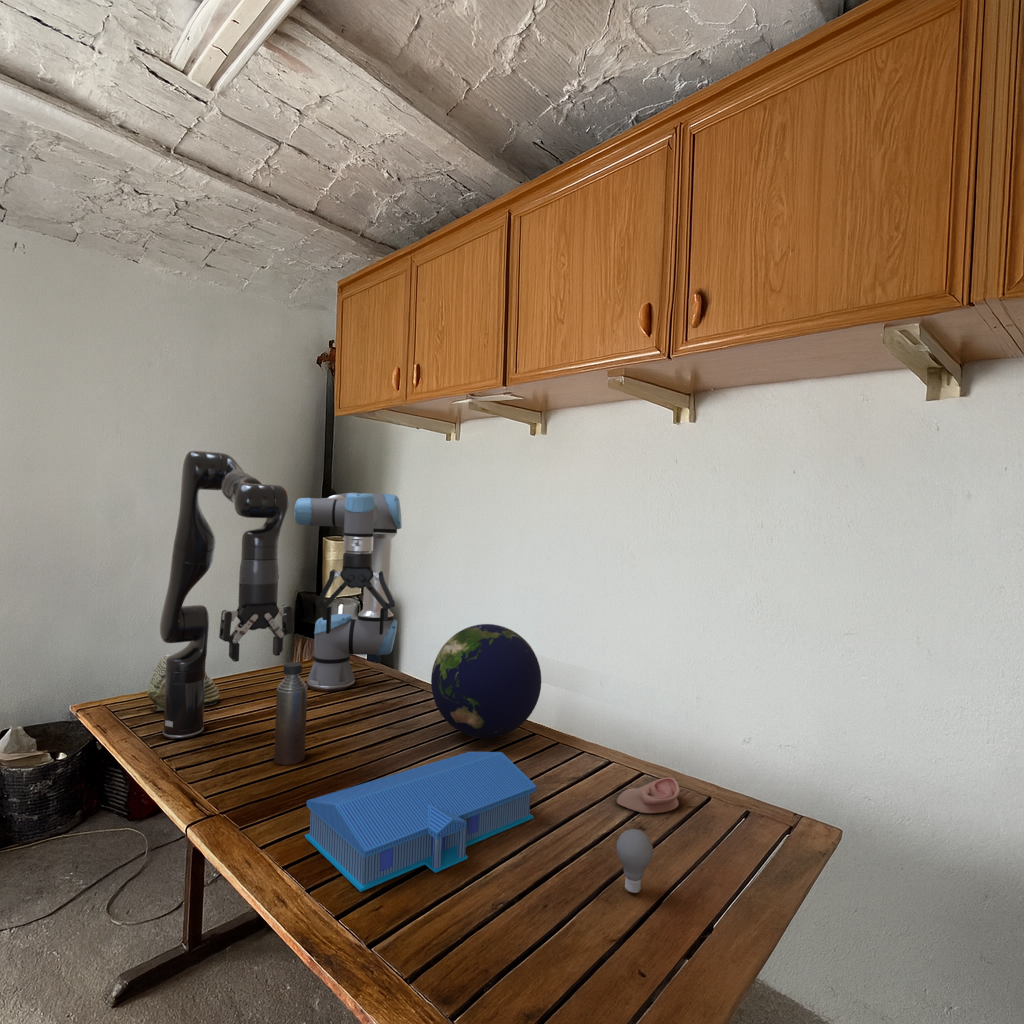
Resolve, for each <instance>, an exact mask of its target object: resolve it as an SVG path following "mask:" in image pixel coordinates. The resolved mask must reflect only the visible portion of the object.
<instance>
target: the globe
mask: <svg viewBox="0 0 1024 1024" xmlns="http://www.w3.org/2000/svg"><path fill="white" fill-rule="evenodd" d="M430 686H431V688H430V689H431V694H432V697H433V701H434V703H435V706H436V709H437V711H439V713H440V715H441V716H442V718H443V719H444V720H445V721H446V723H448V724H449V725H450V726H451V727H453V728H454V729H455V730H456V731H458V732H460V733H462V734H463V735H466V736H470V737H473V738H477V739H493V738H497V737H502V736H505V735H507V734H509V733H512V732H513V731H515V730H517V729H519V727H521V725H523V724H524V723H525V722H526V721H527V720H528V719H529V718H530V716H531V715H532V714H533V712H534V710H535V708H536V706H537V704H538V702H539V698H540V695H541V689H542V671H541V666H540V663H539V660H538V657H537V655H536V653H535V651H534V649H533V648H532V646H531V645H530V644H529V642H528V641H527V640H526V639H525V638H524V637H522V636H521V635H520V634H519V633H517V632H515V630H512V629H510V628H508V627H506V626H503V625H499V624H494V623H480V624H475V625H471V626H468V627H465V628H464V629H461V630H460V631H457V632H456V633H455V634H454V635H452V636H451V637H450V638H449V639H448V640H446V642H445V643H444V644H443V645H442V647H441V648H440V649H439V651H438V653H437V656H436V657H435V660H434V663H433V665H432V670H431V678H430Z"/></svg>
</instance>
